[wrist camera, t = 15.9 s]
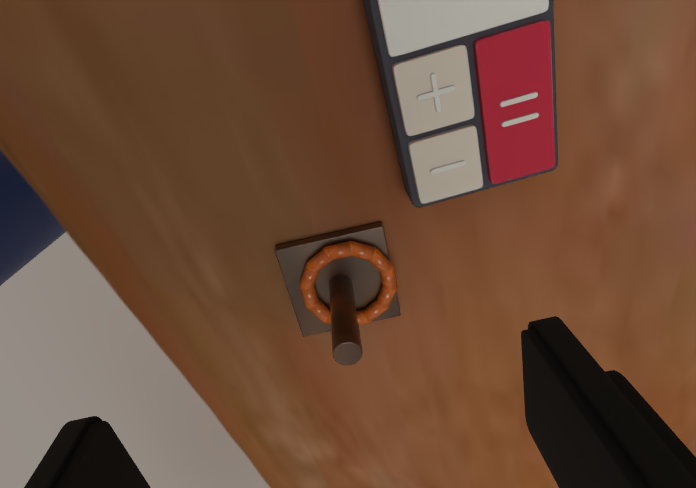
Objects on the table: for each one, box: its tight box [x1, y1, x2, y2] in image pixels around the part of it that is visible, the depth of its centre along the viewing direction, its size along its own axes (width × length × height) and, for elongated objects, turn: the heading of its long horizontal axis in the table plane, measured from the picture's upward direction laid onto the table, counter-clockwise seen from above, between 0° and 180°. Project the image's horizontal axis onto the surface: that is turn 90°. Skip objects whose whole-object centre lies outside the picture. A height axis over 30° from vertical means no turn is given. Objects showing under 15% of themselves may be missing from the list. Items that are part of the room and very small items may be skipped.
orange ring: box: [300, 241, 397, 325], centre depth 37 cm, size 8×8×1 cm
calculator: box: [363, 0, 558, 207], centre depth 31 cm, size 11×4×15 cm
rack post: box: [275, 222, 401, 365], centre depth 34 cm, size 9×9×10 cm
